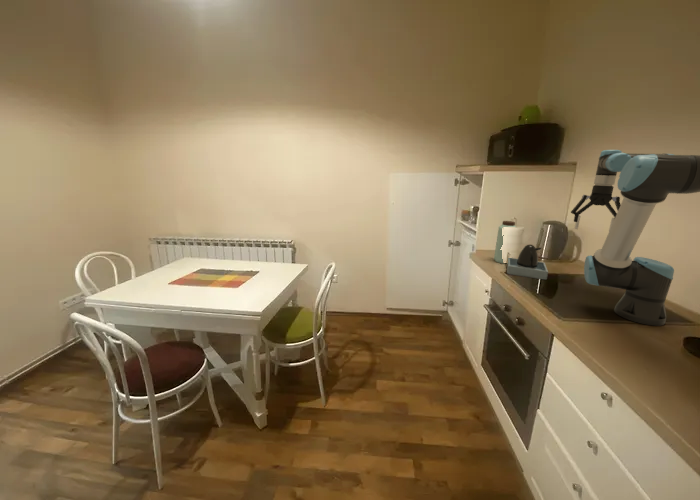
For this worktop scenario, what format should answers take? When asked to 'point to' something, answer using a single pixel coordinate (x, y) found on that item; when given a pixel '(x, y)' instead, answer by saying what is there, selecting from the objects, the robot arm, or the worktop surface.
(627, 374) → the worktop surface
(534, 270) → the bin
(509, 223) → the water bottle
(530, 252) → the pump dispenser
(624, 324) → the worktop surface
